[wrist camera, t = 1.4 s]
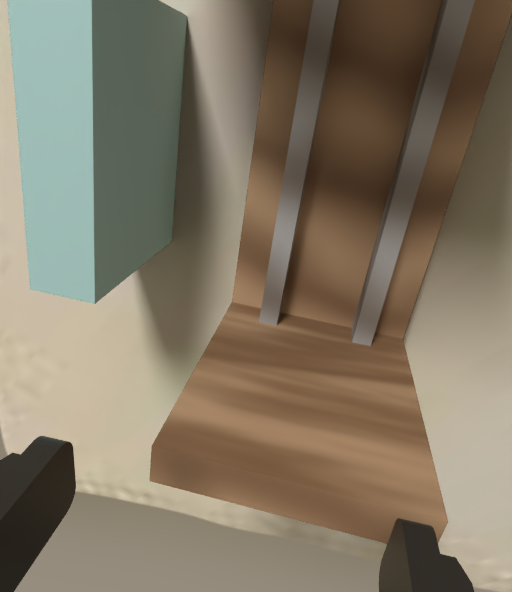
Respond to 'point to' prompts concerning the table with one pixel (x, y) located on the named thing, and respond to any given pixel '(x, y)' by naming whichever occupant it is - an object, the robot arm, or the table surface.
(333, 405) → the slotted wooden stand
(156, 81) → the pale teal rectangular block
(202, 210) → the table surface
